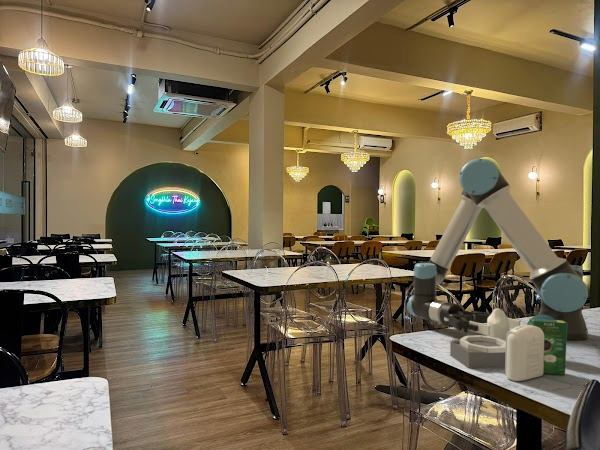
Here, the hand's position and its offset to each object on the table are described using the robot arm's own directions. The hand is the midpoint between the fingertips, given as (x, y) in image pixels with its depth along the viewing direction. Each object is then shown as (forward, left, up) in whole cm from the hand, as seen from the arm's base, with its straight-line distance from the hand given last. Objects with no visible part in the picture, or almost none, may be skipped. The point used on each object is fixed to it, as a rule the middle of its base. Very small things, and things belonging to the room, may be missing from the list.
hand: (504, 328), depth 122 cm
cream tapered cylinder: (+1, -2, -7) cm, 7 cm away
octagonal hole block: (+11, +8, -7) cm, 15 cm away
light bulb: (-6, +8, -7) cm, 12 cm away
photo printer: (+7, +20, -7) cm, 22 cm away
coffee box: (0, +18, -7) cm, 19 cm away
